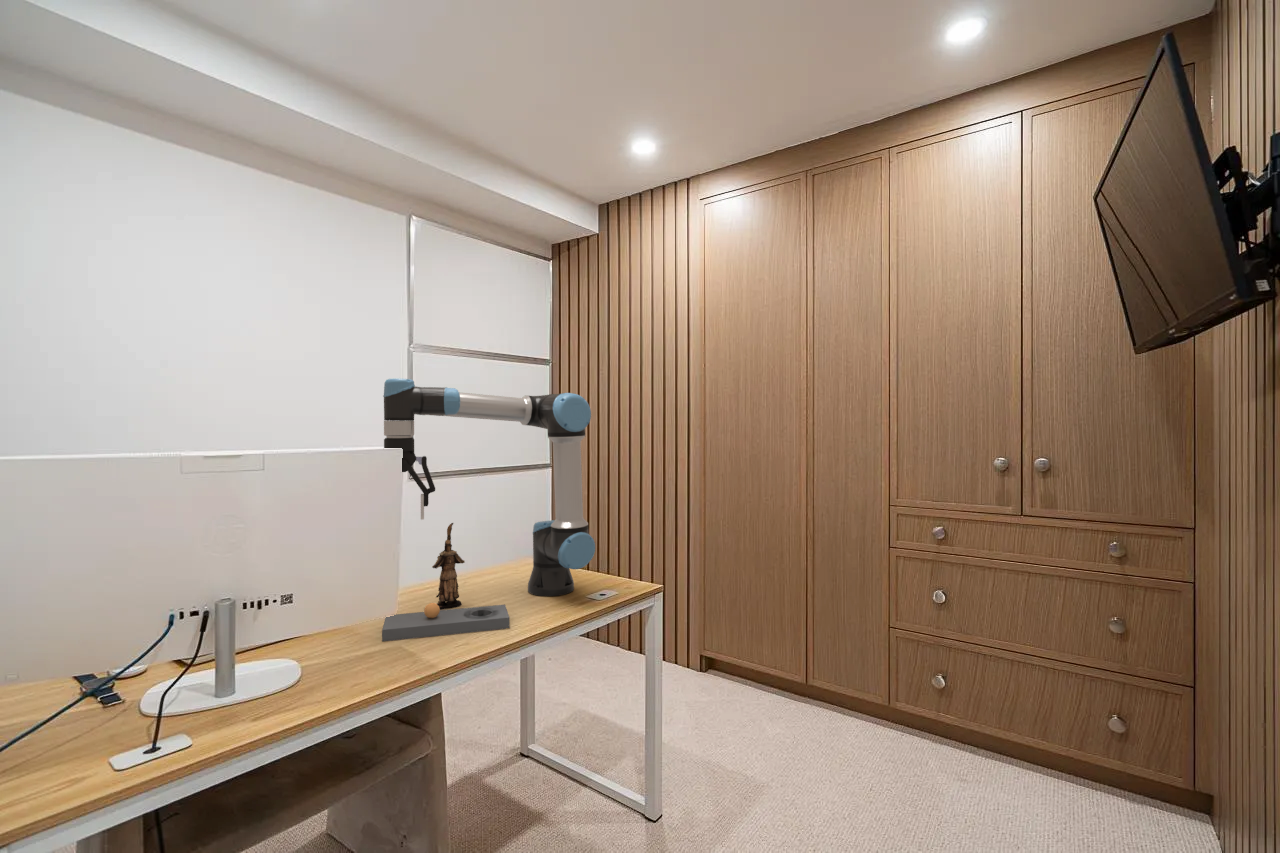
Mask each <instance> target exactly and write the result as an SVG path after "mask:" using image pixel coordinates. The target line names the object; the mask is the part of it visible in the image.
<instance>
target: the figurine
mask: <svg viewBox="0 0 1280 853" xmlns="http://www.w3.org/2000/svg"><path fill="white" fill-rule="evenodd" d="M453 526H454V522H451V523H449V525H448V526H447V529H446V535H447V536H446V540H445V541H444V549H443V550H442V551H440V553H439V554H438V555H437V560H436V561H435V563H434V564H433V565H432V567H431V568H433V569H438V568H441V571H440V574H439V585H438V590H437V591H438V594H436V596H435V598H438V601H437V603H436V604H437V605H438V606H439V608H440V610H450V609H456V608H458V607H461V606H463V603H462V601H461V600H458V599H459V598H460V593H459V583H458V579H457V577H458V574H457V571H456V568H455V567H456V564H464V563H466V562H465V560H464V559H462V557H461V556H460V554H458V552H457V551H456V550H453V549H452V547H453V545H452V530H453Z"/></svg>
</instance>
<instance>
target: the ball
mask: <svg viewBox="0 0 1280 853" xmlns="http://www.w3.org/2000/svg"><path fill="white" fill-rule="evenodd" d="M423 612H424V613H425V615H426V616H427V617H428V618H435V617H436V616H437V615H438V614H439V612H440V608H439V606H438V605H437V603H435V602H429V603H428V604H426V605H425V607H424V610H423Z"/></svg>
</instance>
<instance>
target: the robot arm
mask: <svg viewBox="0 0 1280 853" xmlns="http://www.w3.org/2000/svg"><path fill="white" fill-rule="evenodd" d="M382 397H383V436H385V438H384V439H383V449H384V448H402V449H403V458H402V472H401V473H407V472H408V473H409V475H410V476H411V478H412V479H413V480H414V482H415V483H416V484H417V486H418V488H419V489H420V491H421V492H422V493H420V520H421V521H422V520H425V507H428V506H429V494H431V493H435V492H436V487H435V483H434V481H433V478H432V476H431V472H430V470H429V466H428V465H427V464H428V463H427V458H428V457H427V456H426V455H423V456H416V453H415V438H414V437H413V436H414V435H415V415H418V416H434V417H435V416H436V417H451V418H452V417H453V418H465V419H477V420H478V419H479V420H481V419H482V420H491V421H492V420H493V421H507V422H518V423H519V422H520V424H521V425H522V426H527V427H528V426H530V427H536V428H540V429H544V430H545V429H546V430H547V438H548V439H549V440H550V441H551V442H552V452H553V478H554V479H553V480H554V482H553V483H554V507H555V508H554V509H555V510H554V511H555V512H554V513H555V519H554V520H553V519H552V520H542V521H538V522H535V523H534V525H533V530H532V547H533V549H532V551H533V552H532V553H533V554H532V559H533V561H532V566H533V567H532V570H531V574H530V576H529V579H528V583H527V592H528V593H529V594H531V595H535V596H538V597H539V596H540V597H557V596H558V597H559V596H563V595H566V594H570V593H572V592H573V591H574V590H575V581H574V578H573V576H572V572H571V570H580V569H582V568H584V567H586V566H587V565H588V564H589V563H590V562H591V561H592V559H593V558H594V555H595V552H596V543H595V540H594V538H593V537H592V536H591V535H590V534H589V522H588V521H587V520H586V519H585V518H584V506H583V505H584V504H583V502H584V501H583V500H584V499H583V477H582V476H583V475H582V473H583V472H582V471H583V470H582V441H583V439H585V437H586V428H587V427H588V425H589V424H590V422H591V419H592V410H591V406H590V405H589V402H588V401H587V400H586V399H585V398H584V397H583V396H581V395H580V394H577V393H572V392H564V393H563V392H562V393H551V394H543V395H524V396H522V397H513V396H503V395H494V394H493V395H492V394H483V393H482V394H481V393H470V392H460V391H459V390H458V389H456V388H454V387H447V386H446V387H445V386H444V387H440V386H439V387H431V386H429V387H428V386H427V387H425V386H424V387H423V386H416V385H415V381H414V380H413V379H411V378H388V379H386V380H385V382H384V387H383V395H382ZM416 462H418V464H419V465H421V468H422V471H423V474H424V476H425V479H426V482H427V485H428V488H427V486H426V485H425V484H424V482H423V481H422V479H421V478H420V477H419V475H418V474H417V472H416V471H415V469H414V468H413V465H414V464H415V463H416Z"/></svg>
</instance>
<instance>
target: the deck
mask: <svg viewBox="0 0 1280 853" xmlns="http://www.w3.org/2000/svg"><path fill="white" fill-rule="evenodd" d="M393 615H394V616H390V617H386V616H385V617H386V618H384V622H383V626H382V629H381V642H382V643H383V642H390V641H391V642H392V641H401V640H411V639H420V638H422V639H423V638H431V637H439V636H450V635H458V634H469V633H477V632H478V633H479V632H488V631H496V630H497V631H498V630H505V629H506V628H509V629H510V621H511V620H510V615H509V612H508V609H507V607H506V604H496V605H483V606H473V607H463V608H462V607H461V608H450V609H443V610H440V612H439V614H438V615H437V616H436V617H435V618H428V617H427V616H426V615H425V613H424V611H420V612H419V611H418V612H409V613H408V612H407V613H398V614H397V613H396V615H395V614H393Z"/></svg>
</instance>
